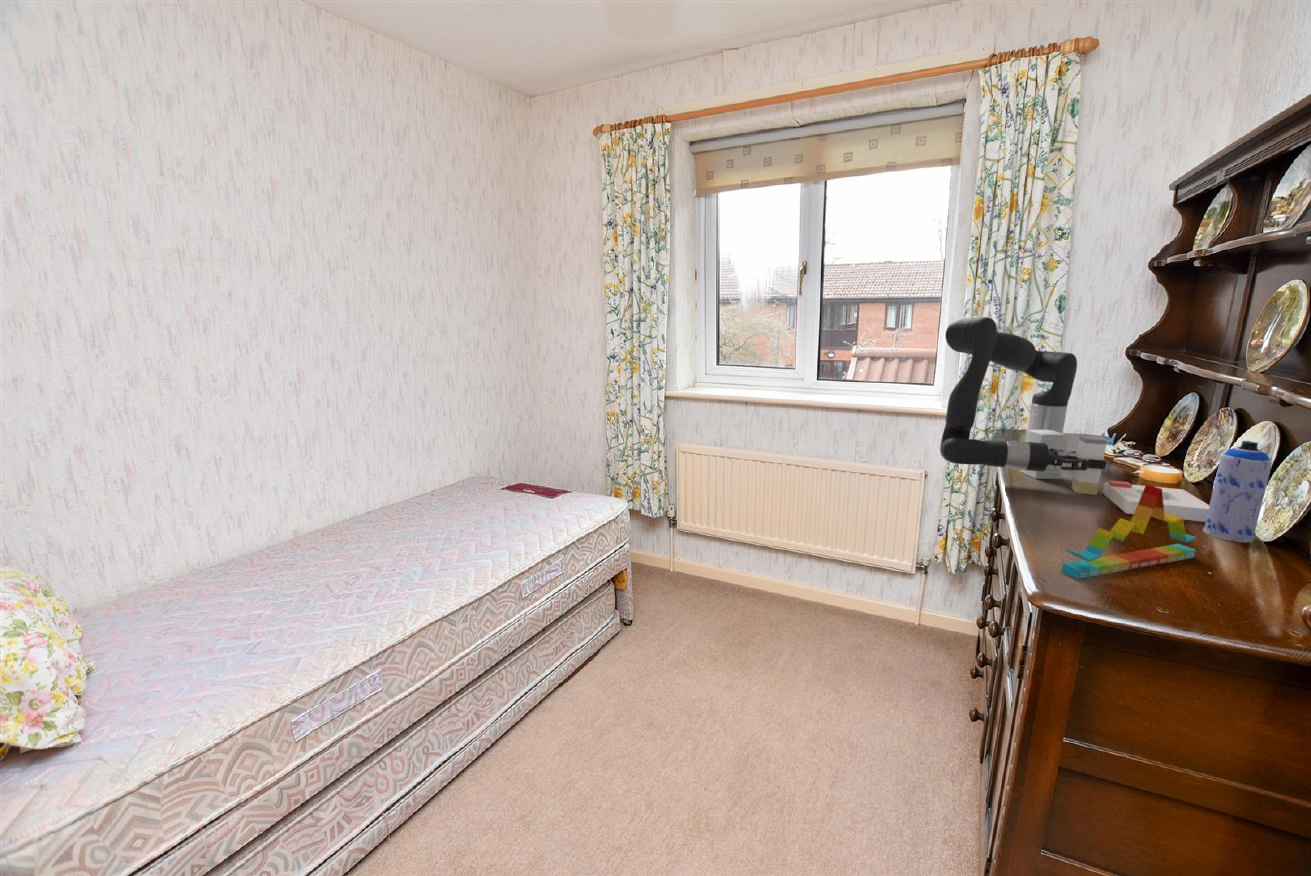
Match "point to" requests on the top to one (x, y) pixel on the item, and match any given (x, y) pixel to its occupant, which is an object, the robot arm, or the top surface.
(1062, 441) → the supplement box
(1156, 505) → the chart
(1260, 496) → the aerosol can
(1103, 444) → the tall white box
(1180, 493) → the socket
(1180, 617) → the top surface
